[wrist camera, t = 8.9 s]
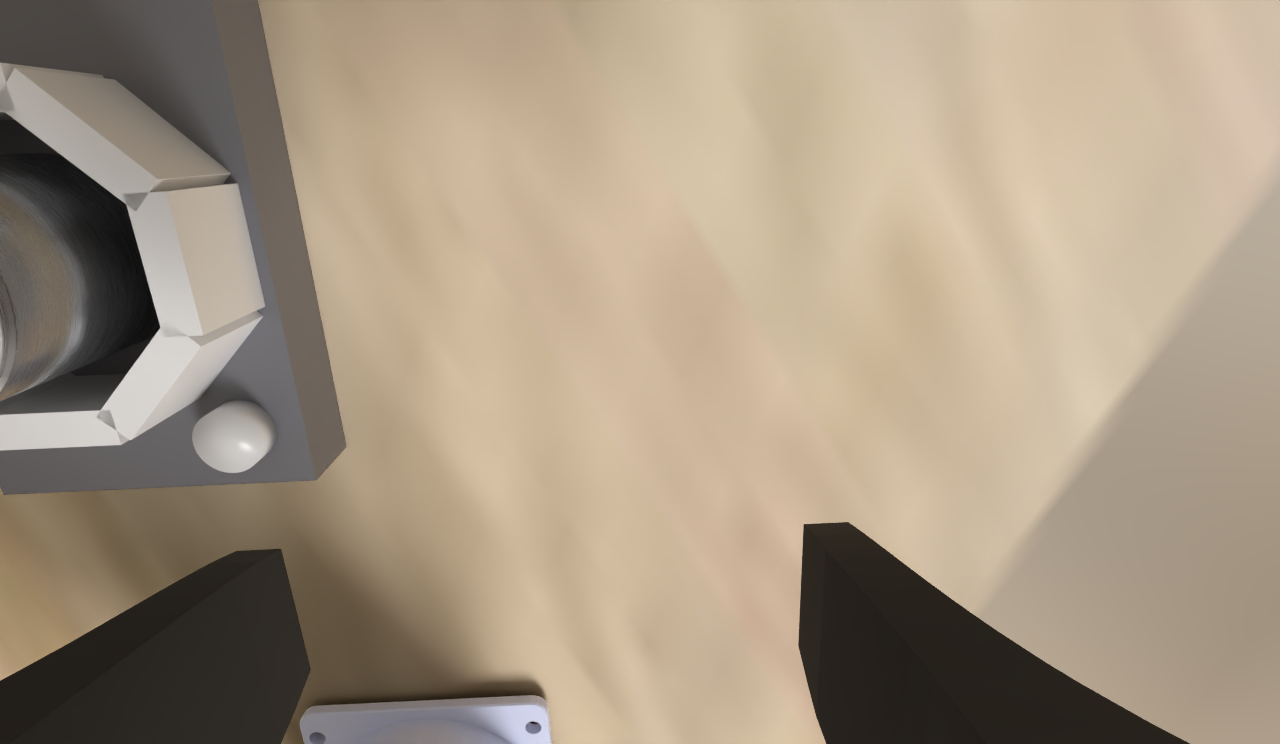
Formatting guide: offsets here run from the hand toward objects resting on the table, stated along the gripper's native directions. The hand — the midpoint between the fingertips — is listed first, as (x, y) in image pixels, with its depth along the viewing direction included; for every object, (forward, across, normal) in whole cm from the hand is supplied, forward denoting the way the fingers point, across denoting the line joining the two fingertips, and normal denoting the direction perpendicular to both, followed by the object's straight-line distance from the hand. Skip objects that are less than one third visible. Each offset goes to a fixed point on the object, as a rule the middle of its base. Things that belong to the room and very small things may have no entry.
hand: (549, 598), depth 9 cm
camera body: (+10, +11, -4) cm, 15 cm away
